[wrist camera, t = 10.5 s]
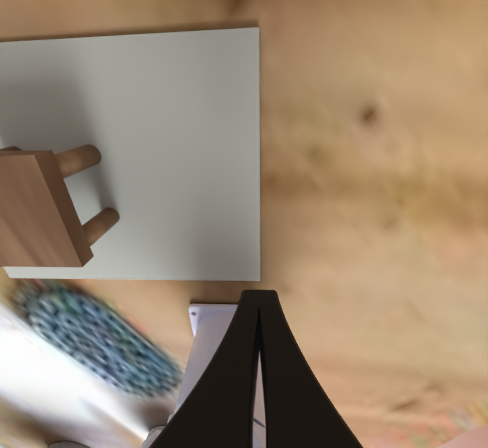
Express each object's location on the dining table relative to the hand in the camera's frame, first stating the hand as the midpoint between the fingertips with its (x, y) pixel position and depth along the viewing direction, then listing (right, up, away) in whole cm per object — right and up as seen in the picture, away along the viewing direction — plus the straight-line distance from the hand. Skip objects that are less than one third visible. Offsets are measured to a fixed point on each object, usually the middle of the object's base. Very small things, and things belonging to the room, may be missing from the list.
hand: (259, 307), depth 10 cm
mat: (-11, +6, +9) cm, 16 cm away
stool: (-11, +5, +6) cm, 13 cm away
